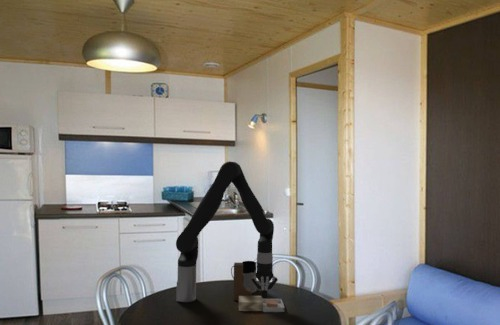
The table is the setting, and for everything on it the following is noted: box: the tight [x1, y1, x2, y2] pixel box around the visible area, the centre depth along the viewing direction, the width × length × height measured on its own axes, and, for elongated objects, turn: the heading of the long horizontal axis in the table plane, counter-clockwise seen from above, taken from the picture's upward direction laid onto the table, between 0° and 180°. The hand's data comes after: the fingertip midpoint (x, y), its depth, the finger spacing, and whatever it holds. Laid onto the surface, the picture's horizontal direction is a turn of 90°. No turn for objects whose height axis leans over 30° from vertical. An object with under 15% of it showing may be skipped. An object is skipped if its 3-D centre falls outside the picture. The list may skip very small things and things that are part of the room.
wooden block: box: [232, 262, 253, 302], centre depth 193 cm, size 9×4×18 cm, turn 89°
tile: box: [266, 301, 278, 307], centre depth 183 cm, size 5×5×2 cm
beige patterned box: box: [238, 295, 263, 312], centre depth 182 cm, size 11×9×4 cm
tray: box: [262, 298, 286, 313], centre depth 183 cm, size 10×12×2 cm
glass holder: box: [230, 260, 258, 294], centre depth 207 cm, size 9×14×15 cm, turn 102°
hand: (264, 297), depth 182 cm, fingers closed
